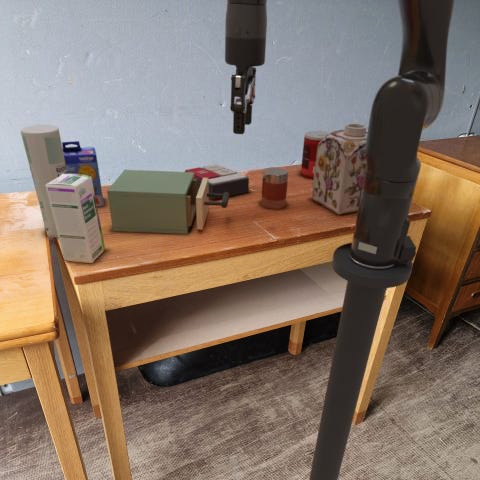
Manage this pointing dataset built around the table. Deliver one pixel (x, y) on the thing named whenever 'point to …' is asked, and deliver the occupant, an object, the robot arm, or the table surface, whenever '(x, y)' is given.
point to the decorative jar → (341, 169)
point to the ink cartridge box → (84, 165)
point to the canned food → (311, 152)
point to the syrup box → (76, 217)
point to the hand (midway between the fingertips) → (242, 128)
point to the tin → (274, 187)
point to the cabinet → (150, 201)
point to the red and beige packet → (221, 180)
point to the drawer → (201, 202)
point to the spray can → (44, 165)
